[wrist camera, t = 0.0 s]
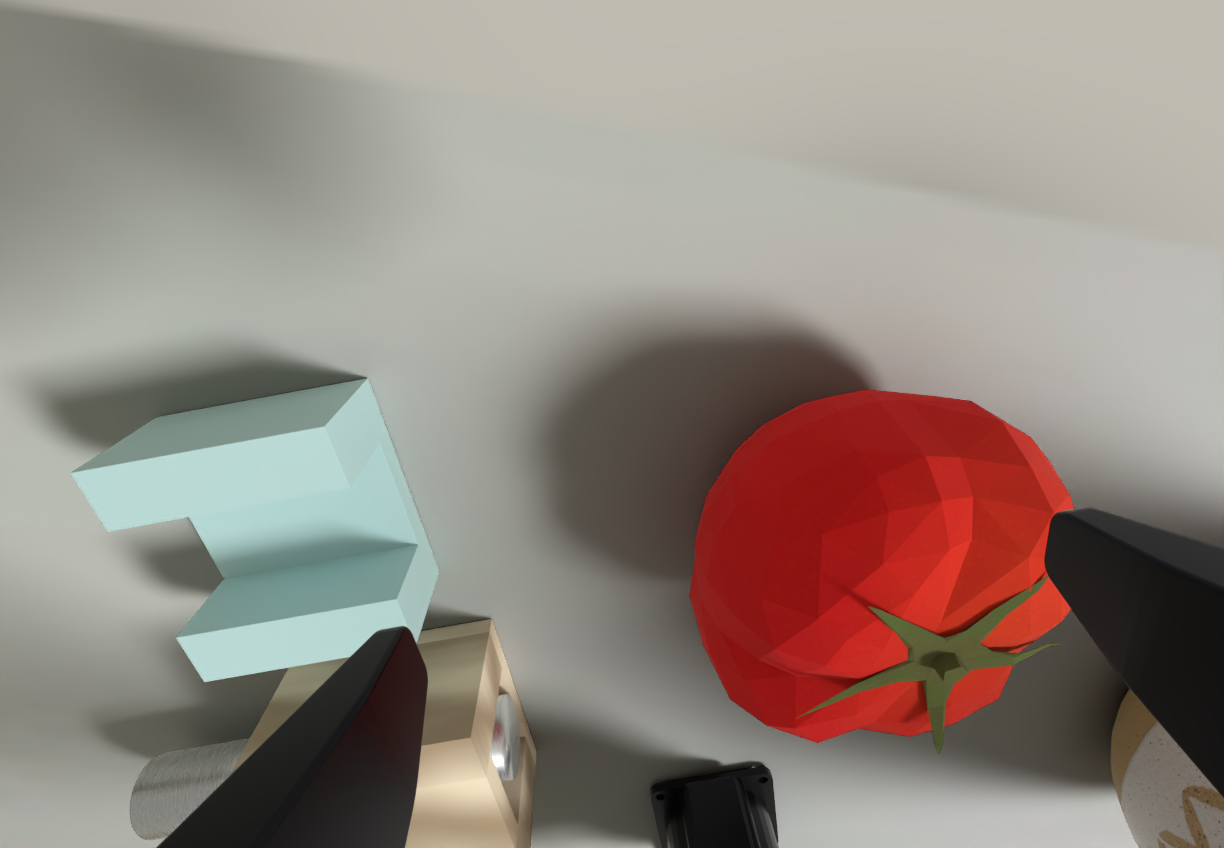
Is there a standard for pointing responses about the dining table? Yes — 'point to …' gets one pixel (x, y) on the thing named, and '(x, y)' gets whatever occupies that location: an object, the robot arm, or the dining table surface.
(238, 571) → the cradle
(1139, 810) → the vase
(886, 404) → the tomato
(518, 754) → the axle
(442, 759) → the open beige box
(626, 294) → the dining table surface
